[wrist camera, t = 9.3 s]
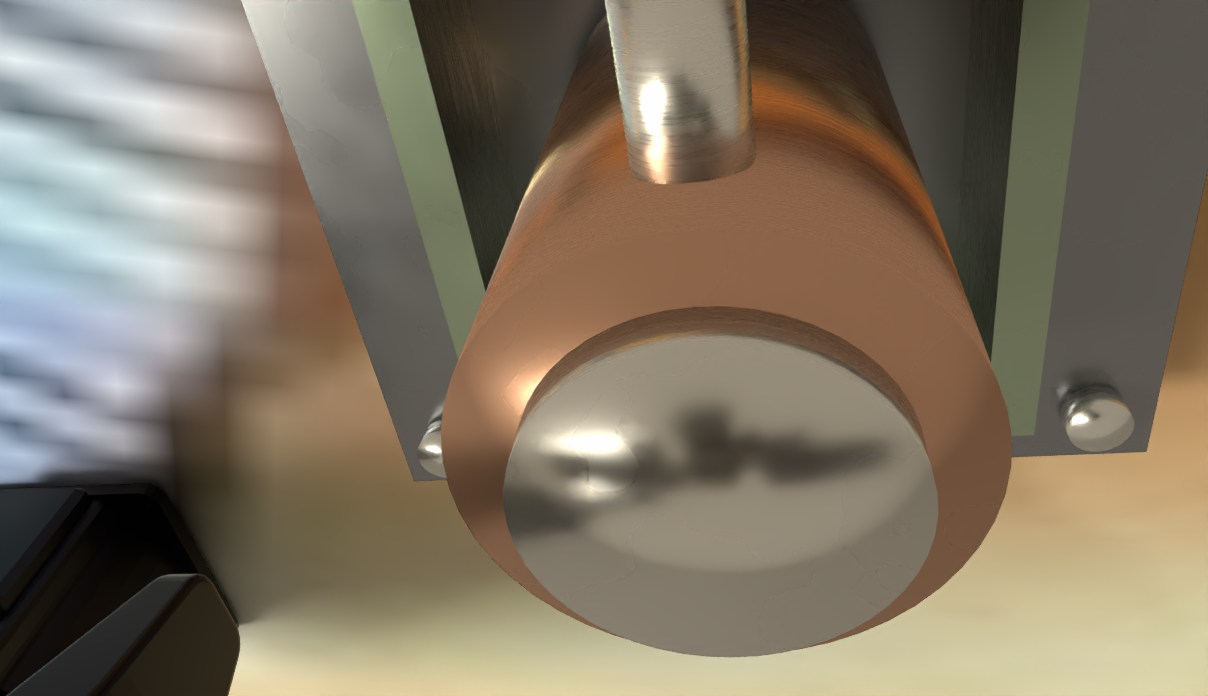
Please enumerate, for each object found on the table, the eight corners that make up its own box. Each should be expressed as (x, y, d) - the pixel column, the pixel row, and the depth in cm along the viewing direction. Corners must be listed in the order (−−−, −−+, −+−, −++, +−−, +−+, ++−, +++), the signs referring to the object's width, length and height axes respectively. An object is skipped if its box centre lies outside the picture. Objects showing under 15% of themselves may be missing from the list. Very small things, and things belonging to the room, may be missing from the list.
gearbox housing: (1107, 379, 22) (1204, 561, 17) (440, 414, 25) (375, 579, 20) (1276, -570, 13) (1564, -697, 8) (197, -342, 16) (-15, -346, 11)
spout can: (885, 247, 18) (1003, 702, 10) (594, 271, 19) (494, 699, 11) (890, -194, 14) (1094, -14, 6) (518, -135, 15) (275, 88, 7)
